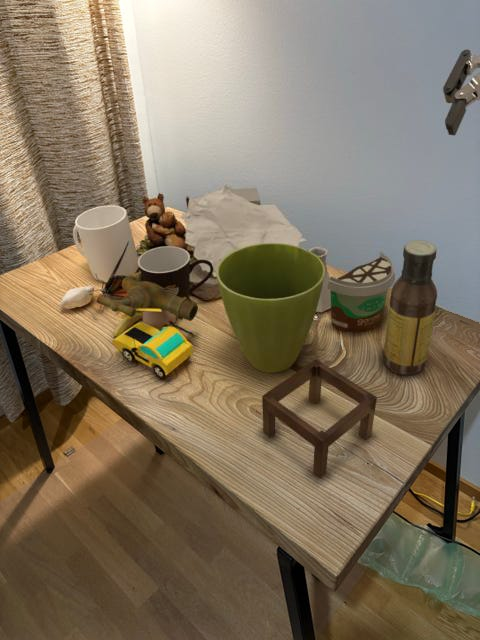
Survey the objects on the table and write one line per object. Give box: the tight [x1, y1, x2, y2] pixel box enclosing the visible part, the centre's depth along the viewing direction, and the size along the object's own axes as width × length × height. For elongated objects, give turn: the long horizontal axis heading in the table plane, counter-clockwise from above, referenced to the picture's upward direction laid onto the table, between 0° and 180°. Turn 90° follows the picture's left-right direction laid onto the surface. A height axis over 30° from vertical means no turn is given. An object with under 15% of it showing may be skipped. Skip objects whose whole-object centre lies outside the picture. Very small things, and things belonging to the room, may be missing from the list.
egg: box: [142, 309, 177, 331], centre depth 88 cm, size 5×5×7 cm
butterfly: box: [90, 241, 129, 313], centre depth 94 cm, size 12×10×10 cm
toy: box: [230, 187, 261, 205], centre depth 110 cm, size 10×8×15 cm
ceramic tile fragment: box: [190, 264, 222, 301], centre depth 99 cm, size 12×3×10 cm
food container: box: [327, 252, 396, 333], centre depth 86 cm, size 12×6×10 cm, turn 126°
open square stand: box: [261, 358, 378, 480], centre depth 68 cm, size 10×10×7 cm
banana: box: [112, 312, 144, 340], centre depth 90 cm, size 8×2×4 cm
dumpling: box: [59, 285, 97, 310], centre depth 96 cm, size 7×5×4 cm
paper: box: [180, 184, 307, 277], centre depth 100 cm, size 24×6×20 cm
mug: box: [72, 204, 139, 283], centre depth 102 cm, size 10×12×12 cm
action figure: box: [95, 271, 199, 322], centre depth 82 cm, size 15×4×15 cm
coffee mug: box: [138, 246, 213, 299], centre depth 91 cm, size 12×9×10 cm
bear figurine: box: [136, 192, 198, 264], centre depth 105 cm, size 14×15×12 cm
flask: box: [308, 246, 331, 313], centre depth 91 cm, size 7×7×10 cm
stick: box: [169, 321, 195, 337], centre depth 86 cm, size 6×1×2 cm
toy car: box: [112, 308, 195, 380], centre depth 81 cm, size 12×8×8 cm, turn 53°
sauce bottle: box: [383, 239, 438, 376], centre depth 74 cm, size 6×6×20 cm
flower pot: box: [216, 243, 325, 374], centre depth 78 cm, size 15×15×16 cm
